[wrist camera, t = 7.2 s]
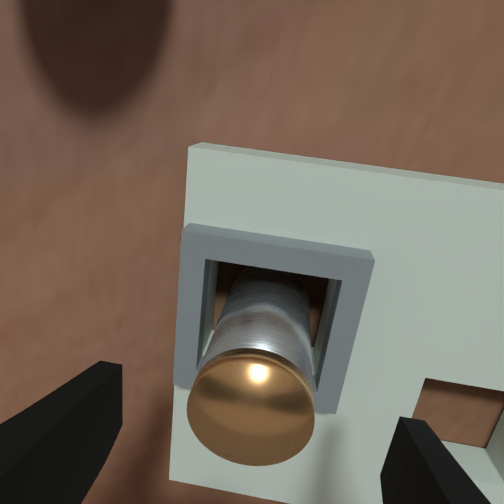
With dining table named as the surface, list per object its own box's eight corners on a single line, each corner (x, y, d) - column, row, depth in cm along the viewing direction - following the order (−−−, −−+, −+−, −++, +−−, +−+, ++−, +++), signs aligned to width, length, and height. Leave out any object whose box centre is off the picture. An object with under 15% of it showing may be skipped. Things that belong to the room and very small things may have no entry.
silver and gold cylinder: (316, 270, 16) (328, 379, 10) (299, 339, 17) (299, 477, 11) (236, 254, 16) (193, 351, 10) (225, 323, 18) (180, 450, 11)
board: (691, 209, 14) (791, 234, 11) (524, 512, 19) (562, 580, 17) (202, 142, 15) (179, 149, 12) (180, 446, 21) (162, 498, 18)
